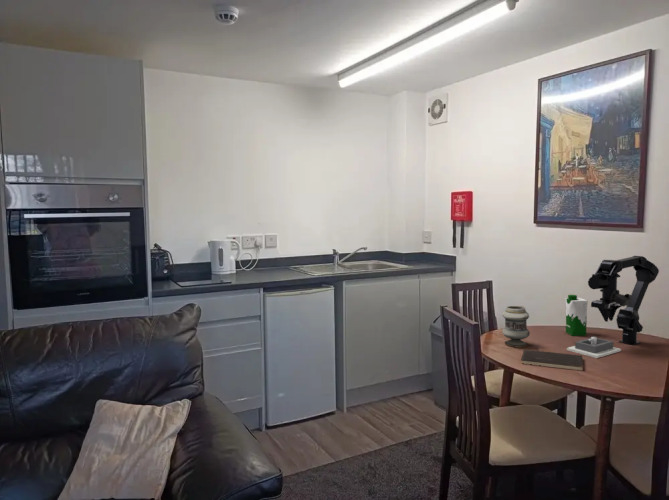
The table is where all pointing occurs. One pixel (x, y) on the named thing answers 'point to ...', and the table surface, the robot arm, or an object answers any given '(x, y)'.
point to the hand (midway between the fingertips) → (608, 321)
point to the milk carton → (576, 315)
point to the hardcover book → (552, 359)
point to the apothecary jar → (515, 325)
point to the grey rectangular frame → (600, 346)
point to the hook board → (596, 355)
